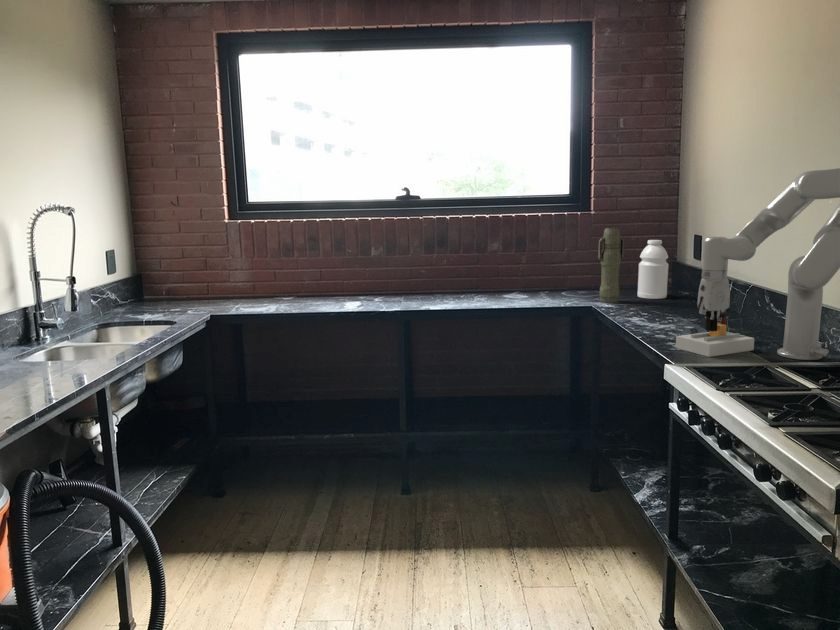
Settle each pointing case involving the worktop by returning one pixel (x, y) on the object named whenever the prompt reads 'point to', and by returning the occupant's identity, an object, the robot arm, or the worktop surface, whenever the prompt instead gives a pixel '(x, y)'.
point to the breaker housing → (714, 343)
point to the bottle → (653, 271)
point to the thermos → (610, 264)
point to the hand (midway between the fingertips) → (711, 330)
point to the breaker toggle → (719, 330)
